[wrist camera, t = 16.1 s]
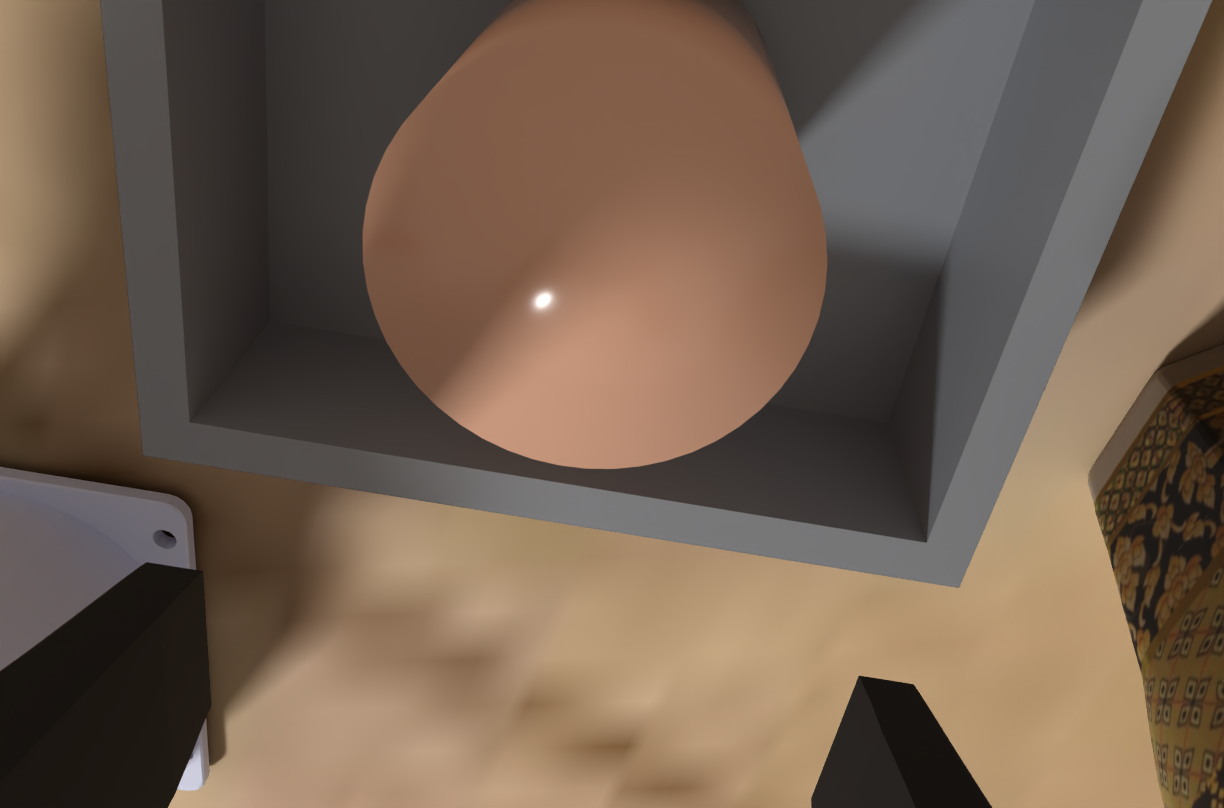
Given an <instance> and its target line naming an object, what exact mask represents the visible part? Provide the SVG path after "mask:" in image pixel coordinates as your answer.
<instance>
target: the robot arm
mask: <svg viewBox="0 0 1224 808" xmlns="http://www.w3.org/2000/svg"><path fill="white" fill-rule="evenodd" d="M162 530H165V531H168V532H170V533H171V534H173V535H174V536H175V538H172V537H169V536H167V535H166V534H164V533H163V532H162ZM210 706H211V693H210V678H209V662H208V646H207V630H206V614H205V598H204V583H203V571H199V570H196V561H195V547H194V532H193V517H192V513H191V509H190V508H189V506H188V505H187V504H186V503H185V502H184V501H183V500H181V499H180V498H178V497H176V496H173V495H170V494H165V493H159V492H153V491H147V490H141V489H134V488H128V487H122V486H116V485H110V484H103V483H97V482H91V481H85V480H79V479H72V478H66V477H60V476H54V475H48V474H41V473H35V472H29V471H23V470H17V469H10V468H4V467H0V808H168V806H169V804H170V802H171V800H172V798H173V797H174V795H175V793H176V790H177V789H180V790H189V791H193V790H197V789H200V788H201V787H202V786H203V785H204V784H205V782H206V780H207V778H208V776H209V772H210V769H209V754H208V740H207V725H206V717H207V714H208V712H209V709H210ZM811 802H812V808H992V806H991V805H990V803H989V802H988V800H987V799H986V797H985V796H984V794H983V793H982V791H981V790H980V788H979V786H978V785H977V783H976V782H975V780H974V779H973V777H972V775H971V774H970V772H969V771H968V769H967V768H966V766H965V765H964V763H963V761H962V760H961V758H960V757H959V755H958V753H957V752H956V750H955V749H954V747H953V745H952V744H951V742H950V741H949V739H948V737H947V736H946V734H945V733H944V731H943V729H942V728H941V726H940V725H939V723H938V721H937V720H936V718H935V717H934V715H933V714H932V712H931V710H930V709H929V707H928V706H927V704H926V702H925V701H924V699H923V698H922V696H921V695H920V693H919V692H918V690H917V689H916V687H915V686H914V684H908V683H902V682H896V681H889V680H883V679H877V678H870V677H864V676H859V677H858V680H857V682H856V685H855V687H854V690H853V692H852V695H851V698H850V700H849V703H848V705H847V708H846V710H845V713H844V716H843V718H842V721H841V723H840V726H839V728H838V731H837V734H836V736H835V739H834V741H833V744H832V746H831V749H830V752H829V754H828V757H827V759H826V762H825V764H824V767H823V770H822V772H821V775H820V777H819V780H818V783H817V785H816V788H815V790H814V793H813V795H812V798H811Z"/></svg>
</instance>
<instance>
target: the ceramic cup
mask: <svg viewBox="0 0 1224 808" xmlns="http://www.w3.org/2000/svg"><path fill="white" fill-rule="evenodd" d="M1088 485H1089V489H1090V492H1091V495H1092V498H1093V502H1094V505H1095V512H1096V516H1097V519H1098V522H1099V525H1100V528H1101V531H1102V534H1103V537H1104V541H1105V544H1106V547H1107V550H1108V553H1109V557H1110V561H1111V564H1112V568H1113V572H1114V576H1115V579H1116V583H1117V587H1118V590H1119V594H1120V598H1121V601H1122V605H1123V609H1124V612H1125V616H1126V620H1127V623H1128V627H1129V631H1130V634H1131V638H1132V642H1133V645H1134V649H1135V653H1136V656H1137V660H1138V663H1139V667H1140V671H1141V674H1142V678H1143V685H1144V692H1145V700H1146V707H1147V714H1148V722H1149V729H1150V735H1151V741H1152V747H1153V753H1154V759H1155V765H1156V770H1157V776H1158V782H1159V787H1160V791H1161V795H1162V799H1163V804H1164V808H1224V343H1223V344H1221V345H1218V346H1215V347H1213V348H1210V349H1208V350H1205V351H1203V352H1200V353H1197V354H1195V355H1192V356H1190V357H1187V358H1185V359H1182V360H1179V361H1177V362H1174V363H1172V364H1169V365H1167V366H1164V367H1162V368H1160V369H1159V370H1157V371H1156V372H1155V373H1154V374H1153V376H1152V377H1151V378H1150V380H1149V381H1148V383H1147V384H1146V386H1145V387H1144V389H1143V390H1142V392H1141V393H1140V395H1139V396H1138V398H1137V399H1136V401H1135V402H1134V404H1133V406H1132V407H1131V409H1130V410H1129V412H1128V413H1127V415H1126V416H1125V418H1124V419H1123V421H1122V422H1121V424H1120V425H1119V427H1118V428H1117V430H1116V432H1115V433H1114V435H1113V436H1112V438H1111V439H1110V441H1109V442H1108V444H1107V445H1106V447H1105V448H1104V450H1103V451H1102V453H1101V454H1100V456H1099V458H1098V459H1097V461H1096V462H1095V464H1094V466H1093V467H1092V469H1091V470H1090V472H1089V479H1088Z"/></svg>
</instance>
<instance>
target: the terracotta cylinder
mask: <svg viewBox="0 0 1224 808" xmlns="http://www.w3.org/2000/svg"><path fill="white" fill-rule="evenodd" d="M363 265H364V272H365V278H366V284H367V290H368V294H369V297H370V301H371V304H372V307H373V311H374V314H375V317H376V319H377V322H378V324H379V326H380V328H381V331H382V333H383V335H384V337H385V340H386V342H387V344H388V345H389V347H390V348H391V350H392V352H393V353H394V355H395V357H396V358H397V360H398V362H399V363H400V365H401V366H402V368H403V369H404V370H405V371H406V373H407V374H408V375H409V377H410V378H411V379H412V380H413V382H414V383H415V384H416V385H417V387H418V388H419V389H420V390H421V391H422V392H423V393H424V394H425V395H426V396H427V397H428V398H429V399H430V400H431V401H432V402H433V403H434V404H435V405H436V406H437V407H438V408H440V409H441V410H442V411H443V412H445V413H446V414H447V415H448V416H450V417H451V418H452V419H453V420H455V421H456V422H457V423H459V424H460V425H462V426H463V427H465V428H466V429H468V430H470V431H471V432H473V433H474V434H476V435H478V436H479V437H481V438H483V439H485V440H487V441H489V442H491V443H493V444H495V445H497V446H499V447H501V448H503V449H506V450H508V451H511V452H514V453H517V454H519V455H522V456H525V457H528V458H531V459H534V460H538V461H543V462H547V463H551V464H556V465H561V466H569V467H577V468H585V469H618V468H628V467H639V466H644V465H649V464H654V463H658V462H663V461H667V460H670V459H673V458H676V457H679V456H682V455H685V454H688V453H691V452H694V451H696V450H698V449H700V448H702V447H704V446H707V445H709V444H711V443H713V442H715V441H717V440H719V439H720V438H722V437H724V436H725V435H727V434H728V433H730V432H732V431H733V430H735V429H736V428H738V427H740V426H741V425H742V424H743V423H745V422H746V421H747V420H748V419H750V418H751V417H752V416H753V415H755V414H756V413H757V412H758V411H760V410H761V409H762V408H763V407H764V406H765V404H766V403H767V402H768V401H769V400H770V399H771V398H772V397H773V396H774V395H775V394H776V393H777V392H778V391H779V390H780V389H781V387H782V386H783V384H784V383H785V382H786V380H787V379H788V378H789V376H790V375H791V374H792V372H793V371H794V370H795V368H796V366H797V365H798V363H799V361H800V359H801V357H802V356H803V354H804V352H805V350H806V348H807V347H808V345H809V342H810V340H811V337H812V334H813V332H814V329H815V327H816V324H817V321H818V319H819V315H820V311H821V306H822V302H823V298H824V293H825V285H826V274H827V245H826V232H825V227H824V222H823V217H822V212H821V207H820V203H819V200H818V197H817V194H816V191H815V188H814V185H813V182H812V179H811V176H810V173H809V170H808V167H807V164H806V161H805V159H804V156H803V153H802V150H801V147H800V144H799V141H798V138H797V135H796V132H795V129H794V126H793V123H792V120H791V117H790V114H789V111H788V108H787V105H786V102H785V99H784V96H783V93H782V90H781V88H780V85H779V82H778V79H777V76H776V73H775V70H774V67H773V64H772V61H771V58H770V55H769V52H768V49H767V47H766V44H765V41H764V38H763V36H762V34H761V32H760V30H759V28H758V26H757V24H756V22H755V20H754V19H753V17H752V16H751V14H750V13H749V12H748V10H747V9H746V7H745V6H744V4H743V3H742V2H741V1H740V0H509V1H508V3H507V4H506V5H505V6H504V7H503V8H502V9H501V11H500V12H499V13H498V14H497V15H496V16H495V18H494V19H493V20H492V21H491V22H490V23H489V24H488V26H487V27H486V28H485V29H484V30H483V31H482V33H481V34H480V35H479V36H478V37H477V38H476V39H475V41H474V42H473V43H472V44H471V45H470V46H469V48H468V49H467V50H466V51H465V52H464V53H463V54H462V56H461V57H460V58H459V59H458V60H457V61H456V63H455V64H454V65H453V66H452V67H451V68H450V69H449V71H448V72H447V73H446V74H445V75H444V76H443V77H442V79H441V80H440V81H439V82H438V83H437V84H436V86H435V87H434V88H433V89H432V90H431V91H430V92H429V94H428V95H427V96H426V97H425V98H424V99H423V101H422V102H421V103H420V104H419V105H418V106H417V108H416V109H415V110H414V111H413V112H412V113H411V115H410V116H409V117H408V118H407V119H406V120H405V122H404V123H403V124H402V125H401V127H400V128H399V130H398V132H397V133H396V135H395V136H394V138H393V140H392V141H391V143H390V144H389V146H388V148H387V149H386V151H385V153H384V155H383V158H382V160H381V162H380V164H379V167H378V169H377V171H376V174H375V176H374V178H373V182H372V186H371V189H370V193H369V197H368V200H367V204H366V210H365V218H364V226H363Z"/></svg>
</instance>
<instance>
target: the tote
mask: <svg viewBox="0 0 1224 808" xmlns="http://www.w3.org/2000/svg"><path fill="white" fill-rule="evenodd" d="M508 1H509V0H100V5H101V15H102V26H103V37H104V47H105V58H106V68H107V79H108V89H109V100H110V111H111V121H112V132H113V142H114V153H115V163H116V174H117V185H118V195H119V206H120V216H121V227H122V237H123V248H124V259H125V269H126V280H127V290H128V301H129V311H130V322H131V333H132V343H133V354H134V364H135V375H136V385H137V396H138V406H139V417H140V428H141V438H142V449H143V456H149V457H155V458H161V459H168V460H174V461H180V462H186V463H192V464H198V465H205V466H211V467H217V468H223V469H229V470H235V471H242V472H248V473H254V474H260V475H266V476H272V477H279V478H285V479H291V480H297V481H303V482H309V483H316V484H322V485H328V486H334V487H340V488H346V489H352V490H359V491H365V492H371V493H377V494H383V495H389V496H396V497H402V498H408V499H414V500H420V501H426V502H433V503H439V504H445V505H451V506H457V507H463V508H470V509H476V510H482V511H488V512H494V513H500V514H507V515H513V516H519V517H525V518H531V519H537V520H544V521H550V522H556V523H562V524H568V525H574V526H581V527H587V528H593V529H599V530H605V531H611V532H618V533H624V534H630V535H636V536H642V537H648V538H654V539H661V540H667V541H673V542H679V543H685V544H691V545H698V546H704V547H710V548H716V549H722V550H728V551H735V552H741V553H747V554H753V555H759V556H765V557H772V558H778V559H784V560H790V561H796V562H802V563H809V564H815V565H821V566H827V567H833V568H839V569H846V570H852V571H858V572H864V573H870V574H876V575H883V576H889V577H895V578H901V579H907V580H913V581H919V582H926V583H932V584H938V585H944V586H950V587H956V588H959V586H960V584H961V582H962V580H963V577H964V575H965V573H966V570H967V568H968V566H969V563H970V561H971V559H972V556H973V554H974V552H975V549H976V547H977V545H978V542H979V540H980V538H981V535H982V533H983V531H984V529H985V526H986V524H987V522H988V519H989V517H990V515H991V512H992V510H993V508H994V505H995V503H996V501H997V498H998V496H999V494H1000V491H1001V489H1002V487H1003V484H1004V482H1005V480H1006V478H1007V475H1008V473H1009V471H1010V468H1011V466H1012V464H1013V461H1014V459H1015V457H1016V454H1017V452H1018V450H1019V447H1020V445H1021V443H1022V440H1023V438H1024V436H1025V433H1026V431H1027V429H1028V427H1029V424H1030V422H1031V420H1032V417H1033V415H1034V413H1035V410H1036V408H1037V406H1038V403H1039V401H1040V399H1041V396H1042V394H1043V392H1044V389H1045V387H1046V385H1047V382H1048V380H1049V378H1050V376H1051V373H1052V371H1053V369H1054V366H1055V364H1056V362H1057V359H1058V357H1059V355H1060V352H1061V350H1062V348H1063V345H1064V343H1065V341H1066V338H1067V336H1068V334H1069V331H1070V329H1071V327H1072V325H1073V322H1074V320H1075V318H1076V315H1077V313H1078V311H1079V308H1080V306H1081V304H1082V301H1083V299H1084V297H1085V294H1086V292H1087V290H1088V287H1089V285H1090V283H1091V280H1092V278H1093V276H1094V274H1095V271H1096V269H1097V267H1098V264H1099V262H1100V260H1101V257H1102V255H1103V253H1104V250H1105V248H1106V246H1107V243H1108V241H1109V239H1110V236H1111V234H1112V232H1113V229H1114V227H1115V225H1116V223H1117V220H1118V218H1119V216H1120V213H1121V211H1122V209H1123V206H1124V204H1125V202H1126V199H1127V197H1128V195H1129V192H1130V190H1131V188H1132V185H1133V183H1134V181H1135V178H1136V176H1137V174H1138V172H1139V169H1140V167H1141V165H1142V162H1143V160H1144V158H1145V155H1146V153H1147V151H1148V148H1149V146H1150V144H1151V141H1152V139H1153V137H1154V134H1155V132H1156V130H1157V127H1158V125H1159V123H1160V121H1161V118H1162V116H1163V114H1164V111H1165V109H1166V107H1167V104H1168V102H1169V100H1170V97H1171V95H1172V93H1173V90H1174V88H1175V86H1176V83H1177V81H1178V79H1179V76H1180V74H1181V72H1182V70H1183V67H1184V65H1185V63H1186V60H1187V58H1188V56H1189V53H1190V51H1191V49H1192V46H1193V44H1194V42H1195V39H1196V37H1197V35H1198V32H1199V30H1200V28H1201V25H1202V23H1203V21H1204V19H1205V16H1206V14H1207V12H1208V9H1209V7H1210V5H1211V2H1212V0H740V1H741V2H742V3H743V4H744V6H745V7H746V9H747V10H748V12H749V13H750V14H751V16H752V17H753V19H754V20H755V22H756V24H757V26H758V28H759V30H760V32H761V34H762V36H763V38H764V41H765V44H766V47H767V49H768V52H769V55H770V58H771V61H772V64H773V67H774V70H775V73H776V76H777V79H778V82H779V85H780V88H781V90H782V93H783V96H784V99H785V102H786V105H787V108H788V111H789V114H790V117H791V120H792V123H793V126H794V129H795V132H796V135H797V138H798V141H799V144H800V147H801V150H802V153H803V156H804V159H805V161H806V164H807V167H808V170H809V173H810V176H811V179H812V182H813V185H814V188H815V191H816V194H817V197H818V200H819V203H820V207H821V212H822V217H823V222H824V227H825V232H826V245H827V274H826V285H825V293H824V298H823V302H822V306H821V311H820V315H819V319H818V321H817V324H816V327H815V329H814V332H813V334H812V337H811V340H810V342H809V345H808V347H807V348H806V350H805V352H804V354H803V356H802V357H801V359H800V361H799V363H798V365H797V366H796V368H795V370H794V371H793V372H792V374H791V375H790V376H789V378H788V379H787V380H786V382H785V383H784V384H783V386H782V387H781V389H780V390H779V391H778V392H777V393H776V394H775V395H774V396H773V397H772V398H771V399H770V400H769V401H768V402H767V403H766V404H765V406H764V407H763V408H762V409H761V410H760V411H758V412H757V413H756V414H755V415H753V416H752V417H751V418H750V419H748V420H747V421H746V422H745V423H743V424H742V425H741V426H740V427H738V428H736V429H735V430H733V431H732V432H730V433H728V434H727V435H725V436H724V437H722V438H720V439H719V440H717V441H715V442H713V443H711V444H709V445H707V446H704V447H702V448H700V449H698V450H696V451H694V452H691V453H688V454H685V455H682V456H679V457H676V458H673V459H670V460H667V461H663V462H658V463H654V464H649V465H644V466H639V467H628V468H618V469H585V468H577V467H569V466H561V465H556V464H551V463H547V462H543V461H538V460H534V459H531V458H528V457H525V456H522V455H519V454H517V453H514V452H511V451H508V450H506V449H503V448H501V447H499V446H497V445H495V444H493V443H491V442H489V441H487V440H485V439H483V438H481V437H479V436H478V435H476V434H474V433H473V432H471V431H470V430H468V429H466V428H465V427H463V426H462V425H460V424H459V423H457V422H456V421H455V420H453V419H452V418H451V417H450V416H448V415H447V414H446V413H445V412H443V411H442V410H441V409H440V408H438V407H437V406H436V405H435V404H434V403H433V402H432V401H431V400H430V399H429V398H428V397H427V396H426V395H425V394H424V393H423V392H422V391H421V390H420V389H419V388H418V387H417V385H416V384H415V383H414V382H413V380H412V379H411V378H410V377H409V375H408V374H407V373H406V371H405V370H404V369H403V368H402V366H401V365H400V363H399V362H398V360H397V358H396V357H395V355H394V353H393V352H392V350H391V348H390V347H389V345H388V344H387V342H386V340H385V337H384V335H383V333H382V331H381V328H380V326H379V324H378V322H377V319H376V317H375V314H374V311H373V307H372V304H371V301H370V297H369V294H368V290H367V284H366V278H365V272H364V265H363V226H364V218H365V210H366V204H367V200H368V197H369V193H370V189H371V186H372V182H373V178H374V176H375V174H376V171H377V169H378V167H379V164H380V162H381V160H382V158H383V155H384V153H385V151H386V149H387V148H388V146H389V144H390V143H391V141H392V140H393V138H394V136H395V135H396V133H397V132H398V130H399V128H400V127H401V125H402V124H403V123H404V122H405V120H406V119H407V118H408V117H409V116H410V115H411V113H412V112H413V111H414V110H415V109H416V108H417V106H418V105H419V104H420V103H421V102H422V101H423V99H424V98H425V97H426V96H427V95H428V94H429V92H430V91H431V90H432V89H433V88H434V87H435V86H436V84H437V83H438V82H439V81H440V80H441V79H442V77H443V76H444V75H445V74H446V73H447V72H448V71H449V69H450V68H451V67H452V66H453V65H454V64H455V63H456V61H457V60H458V59H459V58H460V57H461V56H462V54H463V53H464V52H465V51H466V50H467V49H468V48H469V46H470V45H471V44H472V43H473V42H474V41H475V39H476V38H477V37H478V36H479V35H480V34H481V33H482V31H483V30H484V29H485V28H486V27H487V26H488V24H489V23H490V22H491V21H492V20H493V19H494V18H495V16H496V15H497V14H498V13H499V12H500V11H501V9H502V8H503V7H504V6H505V5H506V4H507V3H508Z"/></svg>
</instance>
